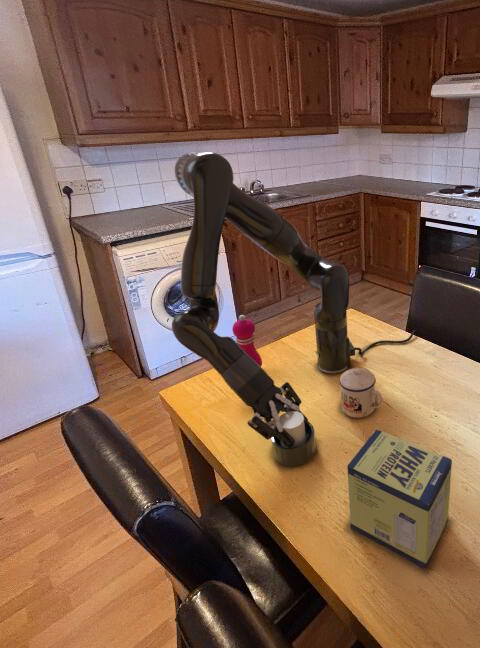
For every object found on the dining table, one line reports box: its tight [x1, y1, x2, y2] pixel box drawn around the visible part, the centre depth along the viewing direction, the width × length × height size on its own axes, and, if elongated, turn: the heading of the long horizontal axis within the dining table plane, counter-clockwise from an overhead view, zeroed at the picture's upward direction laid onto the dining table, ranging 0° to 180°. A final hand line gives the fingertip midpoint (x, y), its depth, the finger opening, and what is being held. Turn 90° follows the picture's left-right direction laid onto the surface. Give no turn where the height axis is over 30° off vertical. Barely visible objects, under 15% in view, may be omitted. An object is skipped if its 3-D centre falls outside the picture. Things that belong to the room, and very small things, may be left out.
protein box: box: [346, 429, 453, 570], centre depth 74 cm, size 10×16×16 cm
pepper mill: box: [232, 314, 263, 368], centre depth 117 cm, size 7×7×20 cm
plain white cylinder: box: [279, 411, 306, 448], centre depth 92 cm, size 6×6×8 cm
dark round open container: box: [270, 422, 317, 468], centre depth 93 cm, size 9×9×5 cm
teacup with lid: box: [338, 367, 384, 419], centre depth 104 cm, size 12×9×12 cm
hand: (299, 434), depth 91 cm, fingers closed on plain white cylinder, 5 cm apart
